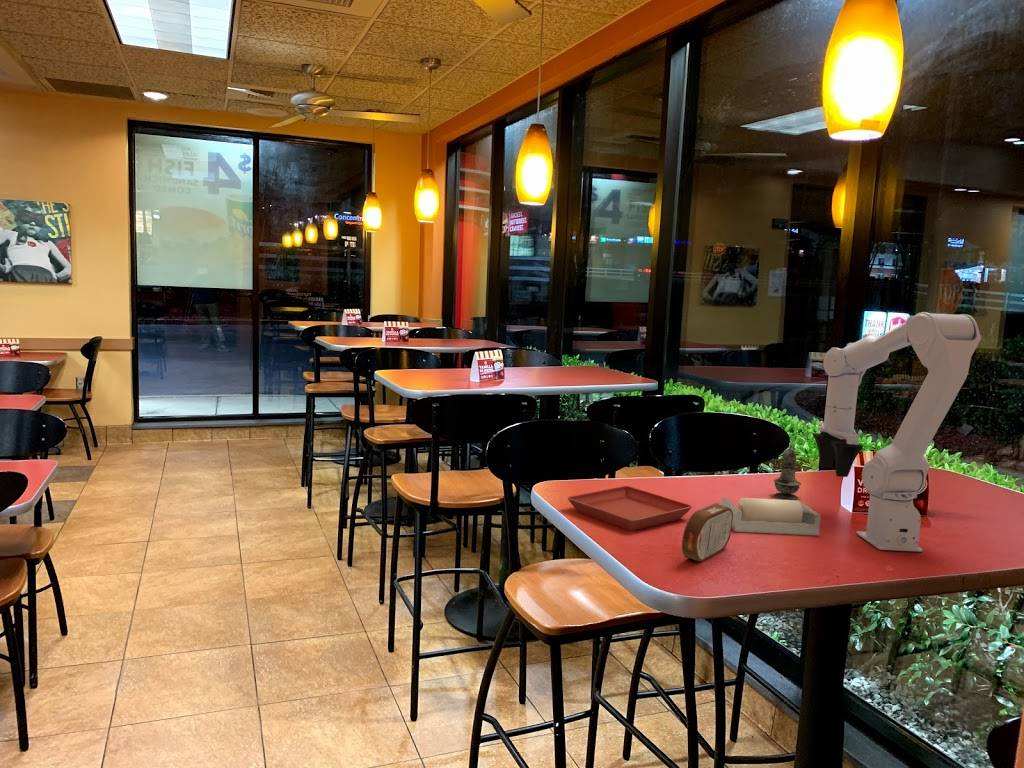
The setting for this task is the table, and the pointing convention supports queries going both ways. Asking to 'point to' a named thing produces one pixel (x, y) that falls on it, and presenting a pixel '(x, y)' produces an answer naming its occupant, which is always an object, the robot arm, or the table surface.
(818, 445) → the robot arm
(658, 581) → the table surface
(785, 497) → the rusty metal finial
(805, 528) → the cradle
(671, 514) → the plant saucer
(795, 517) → the roll
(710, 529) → the tin
